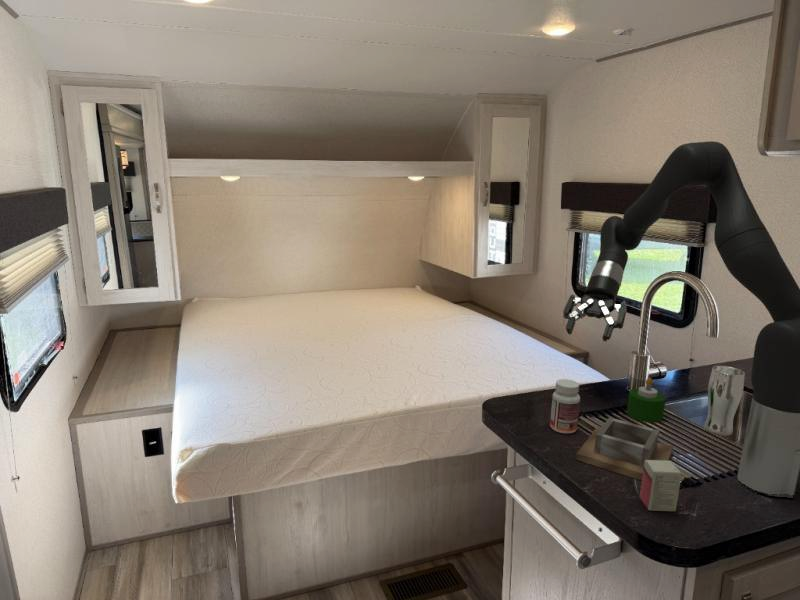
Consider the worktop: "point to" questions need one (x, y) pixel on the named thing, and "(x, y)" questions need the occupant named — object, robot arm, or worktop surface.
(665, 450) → the holder
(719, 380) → the beer glass
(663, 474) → the small box
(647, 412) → the candle
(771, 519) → the worktop surface
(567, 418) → the pill bottle
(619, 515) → the worktop surface
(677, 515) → the worktop surface
